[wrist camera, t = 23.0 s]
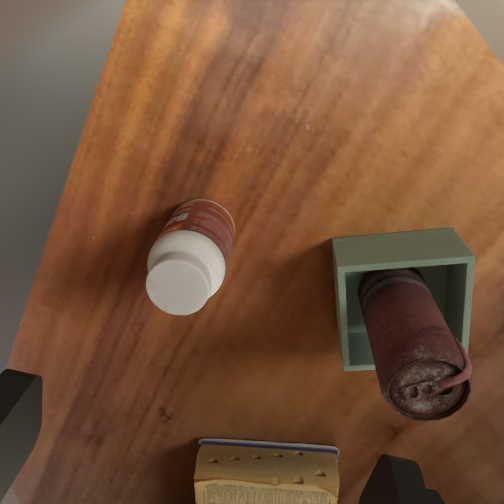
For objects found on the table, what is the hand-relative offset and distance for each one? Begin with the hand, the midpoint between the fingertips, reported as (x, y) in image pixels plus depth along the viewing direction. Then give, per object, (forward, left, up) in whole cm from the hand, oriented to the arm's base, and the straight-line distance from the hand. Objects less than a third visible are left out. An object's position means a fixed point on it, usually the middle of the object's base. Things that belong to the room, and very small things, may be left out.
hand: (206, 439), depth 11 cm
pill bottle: (+8, -7, -32) cm, 34 cm away
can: (+15, +10, -31) cm, 36 cm away
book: (+47, -6, -32) cm, 57 cm away
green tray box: (+15, +10, -32) cm, 37 cm away
